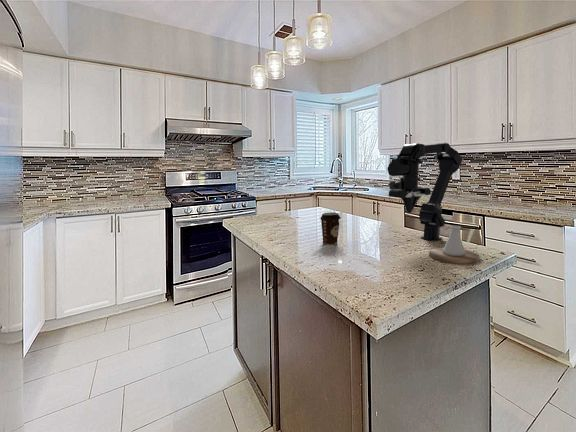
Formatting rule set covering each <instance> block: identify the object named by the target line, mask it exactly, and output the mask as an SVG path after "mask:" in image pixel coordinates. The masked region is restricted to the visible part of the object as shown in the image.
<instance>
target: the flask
mask: <svg viewBox="0 0 576 432" xmlns="http://www.w3.org/2000/svg"><path fill="white" fill-rule="evenodd" d="M449 227H450V233H449V236H448V239H447V241H446V243H445V245H444V246H443V247H442V248H443V250H442V252H443V253H444V254H447V255H451V256H463V255H466V253H465V250H466V249H465V248H464V245H463V241H462V239H461V233H460V230H461V229H462V227H461V226H460V225H450V226H449Z"/></svg>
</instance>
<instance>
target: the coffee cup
mask: <svg viewBox="0 0 576 432" xmlns="http://www.w3.org/2000/svg"><path fill="white" fill-rule="evenodd" d="M340 220H341V216H340V214H339V212H322V213H321V216H320V223H321V231H322V234H321V236H322V244H323V245H329V246H331V245H336V244H338V240H339V239H338V238H339V231H340Z"/></svg>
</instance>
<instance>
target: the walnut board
mask: <svg viewBox="0 0 576 432" xmlns="http://www.w3.org/2000/svg"><path fill="white" fill-rule="evenodd" d="M443 248H444V247H435V248H433V249H432V248H431V249H430V250H429V251H428V256H429V257H430V258H431V259H433V260H435V261H438V262H443V263H447V264H456V265H471V264H477V263H479V262H480V258H481V257H480V255H479V254H478V253H476V252H475V251H471V250H466V249H464V250H465V253H466V255H463V256H451V255H447V254H444V253H443V252H442V250H443Z"/></svg>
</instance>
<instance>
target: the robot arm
mask: <svg viewBox="0 0 576 432" xmlns="http://www.w3.org/2000/svg"><path fill="white" fill-rule="evenodd" d="M444 153H445V154H444ZM430 154H436V160H437V162H438V170H439V173H438V176H437V179H436V181H435V182H434V183H435V184H434V186H433V189H432V190H431V189H430V188H429V187H421V186H419V181H421V177H419V169H420V167H419V166H420V164H421V165H422V164H423V161H422V160H421V159H420V158H422V157H424V156H425V155H430ZM462 162H463V158H462V156H461V154H460V153H459V152H458V150H456V149H454V148H453V147H452V146H451V145H450V144H449V143H448V142H441V143H440V142H439V143H435V144H434V143H433V144H423V143H419V142H418V143H409V144H408V143H407V144H404V145H403V146H402V148H401V150H400V152H399V153H398V155H397V156H396V158H391V162H390V163H388V166H387V168H386V169H387V174H388V175H389V176H391V177H400V176H401V177H400V180H399V181H398V182H396V181H395V180H391V181H389V185H388V187H389V191H388V197H391V198H400V200H402V201H403V204H404V206H405V210H406V213H407V214H411V213H412V212H413V210H414V208H415V206H416V205H417V203H418V202H419V200H420V198H422V196H421V195H424V196H430V197H429V199H428V201H427V202H426V203H425V202H424V203H421V207H420V209H419V211H418V212H419V213H418V216H419V221H420V222H419V223H420V224H421V225H424V226H423V228H424V229H423V235H422V236H421V237H420V239H424V240H428V241H434V242H435V241H439V240H443V237H442V236H441V237H440V232H441V228H442V227H444V226H445V224H446V221H445V218H444V217H443V216H442V213H443V209H442V206H441V204H442V202H443V201H444V200H443V199H444V197H445V194H446V192H447V190H448V186H449V184H450V180H451V179H452V175H453V174H455V173H456V172H457V171H458V170H459V168H460V166H461V165H462Z"/></svg>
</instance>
